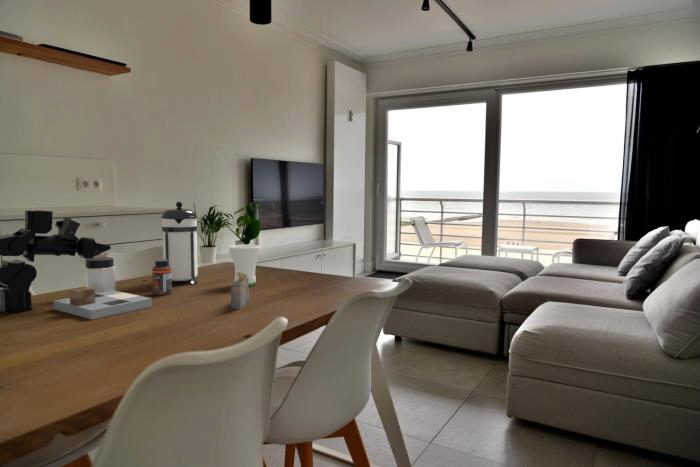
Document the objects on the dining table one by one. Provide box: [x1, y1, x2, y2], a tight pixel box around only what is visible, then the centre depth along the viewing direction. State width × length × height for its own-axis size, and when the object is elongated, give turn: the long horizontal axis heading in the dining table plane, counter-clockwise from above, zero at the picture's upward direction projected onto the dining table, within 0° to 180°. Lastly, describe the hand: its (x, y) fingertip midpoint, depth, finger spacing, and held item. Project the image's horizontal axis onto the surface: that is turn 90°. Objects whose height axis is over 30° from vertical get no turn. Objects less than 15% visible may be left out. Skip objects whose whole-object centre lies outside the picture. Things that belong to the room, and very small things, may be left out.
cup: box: [228, 244, 261, 287], centre depth 180 cm, size 11×11×14 cm
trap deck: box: [53, 290, 153, 321], centre depth 144 cm, size 18×20×2 cm
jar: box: [84, 256, 116, 293], centre depth 160 cm, size 9×8×12 cm
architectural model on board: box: [230, 272, 250, 310], centre depth 149 cm, size 11×3×10 cm, turn 179°
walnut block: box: [69, 286, 95, 306], centre depth 138 cm, size 5×5×4 cm
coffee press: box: [160, 201, 198, 285], centre depth 184 cm, size 17×16×30 cm
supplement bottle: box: [151, 258, 173, 296], centre depth 163 cm, size 6×6×11 cm
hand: (103, 246), depth 158 cm, fingers open, 9 cm apart
